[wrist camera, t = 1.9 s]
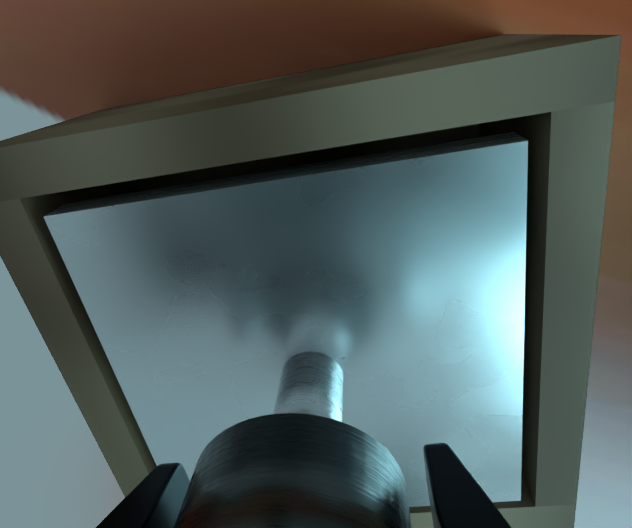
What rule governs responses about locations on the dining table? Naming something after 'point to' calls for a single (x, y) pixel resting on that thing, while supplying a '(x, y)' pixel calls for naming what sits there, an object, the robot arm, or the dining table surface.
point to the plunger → (317, 329)
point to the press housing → (334, 144)
